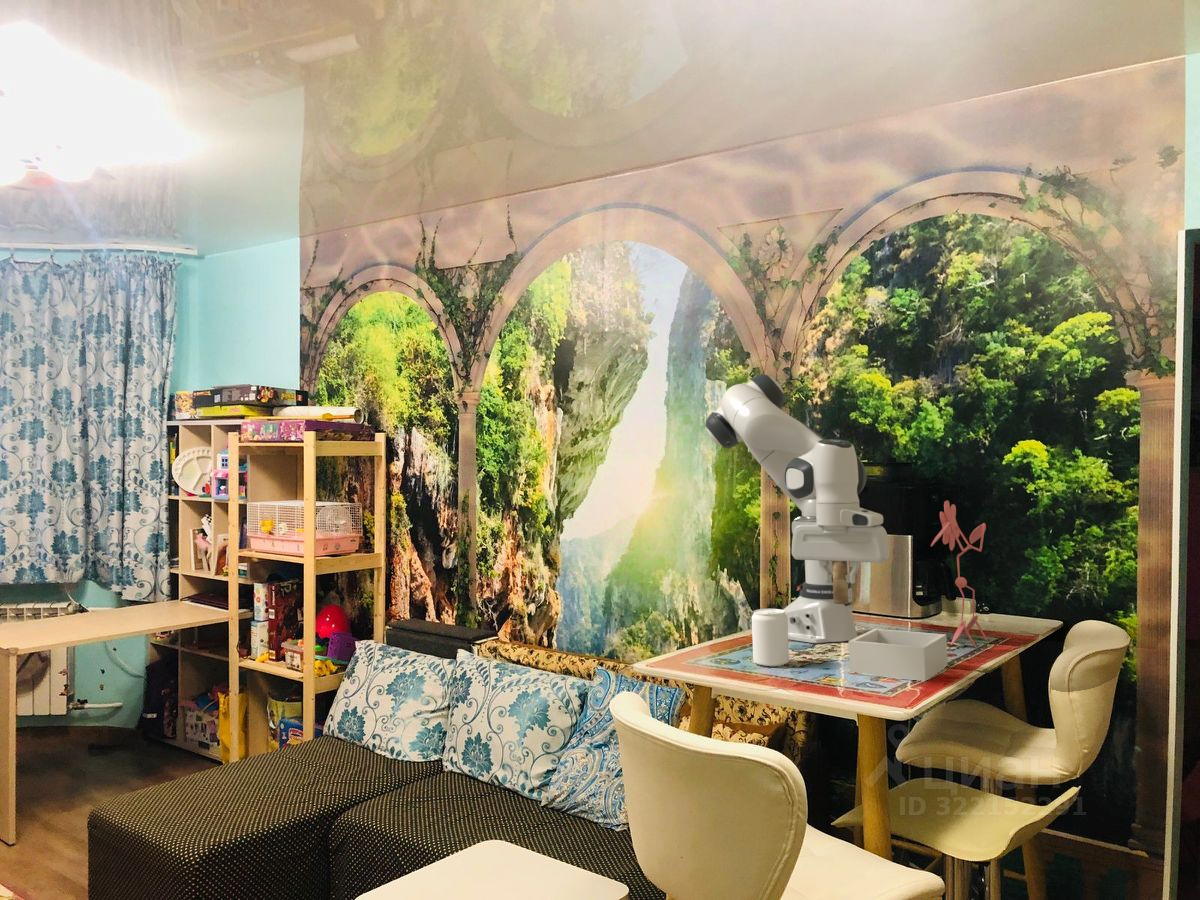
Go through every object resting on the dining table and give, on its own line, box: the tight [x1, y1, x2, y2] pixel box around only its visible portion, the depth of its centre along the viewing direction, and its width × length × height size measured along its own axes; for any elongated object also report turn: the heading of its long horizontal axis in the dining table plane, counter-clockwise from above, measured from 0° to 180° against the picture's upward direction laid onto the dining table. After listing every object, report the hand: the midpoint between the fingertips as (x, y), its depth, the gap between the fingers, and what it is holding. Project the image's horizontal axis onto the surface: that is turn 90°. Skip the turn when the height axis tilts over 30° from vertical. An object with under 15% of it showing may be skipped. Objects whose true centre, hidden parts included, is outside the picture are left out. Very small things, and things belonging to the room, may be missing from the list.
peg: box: [832, 561, 848, 604], centre depth 189 cm, size 3×3×10 cm
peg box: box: [848, 628, 948, 682], centre depth 197 cm, size 16×16×7 cm
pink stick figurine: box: [930, 500, 997, 648], centre depth 225 cm, size 15×26×35 cm, turn 141°
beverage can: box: [751, 608, 790, 667], centre depth 207 cm, size 8×8×12 cm
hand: (840, 582), depth 189 cm, fingers closed on peg, 3 cm apart
